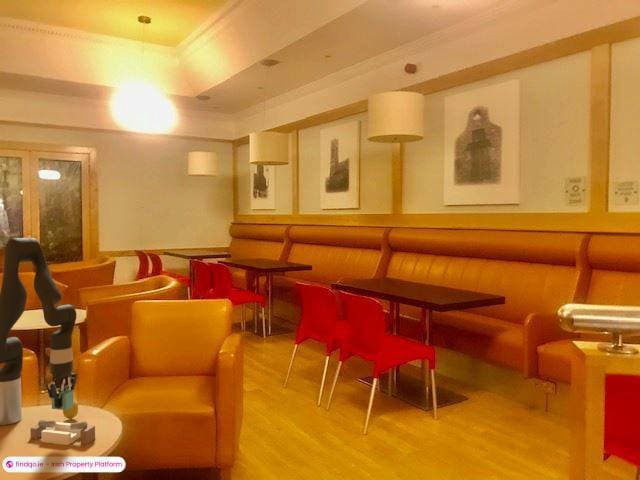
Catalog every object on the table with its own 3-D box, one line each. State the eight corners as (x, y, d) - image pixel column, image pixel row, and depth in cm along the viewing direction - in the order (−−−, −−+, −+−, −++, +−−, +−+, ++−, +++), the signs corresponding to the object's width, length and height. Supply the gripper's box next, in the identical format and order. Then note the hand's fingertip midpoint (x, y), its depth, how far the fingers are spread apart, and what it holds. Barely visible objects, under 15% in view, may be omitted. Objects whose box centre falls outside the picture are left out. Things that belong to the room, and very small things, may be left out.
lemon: (81, 417, 214) (80, 398, 213) (73, 422, 208) (73, 402, 208) (68, 416, 214) (67, 397, 214) (60, 421, 209) (59, 402, 208)
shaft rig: (26, 440, 192) (26, 420, 192) (43, 430, 201) (43, 411, 200) (83, 447, 187) (82, 427, 187) (98, 436, 196) (98, 417, 195)
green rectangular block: (51, 408, 192) (51, 392, 192) (59, 404, 196) (59, 389, 195) (66, 410, 191) (65, 393, 190) (73, 406, 195) (73, 390, 194)
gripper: (65, 353, 200) (66, 398, 201) (38, 364, 186) (39, 411, 187) (83, 355, 198) (84, 399, 199) (56, 366, 185) (57, 413, 185)
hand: (62, 405), depth 193 cm, fingers closed on green rectangular block, 4 cm apart
